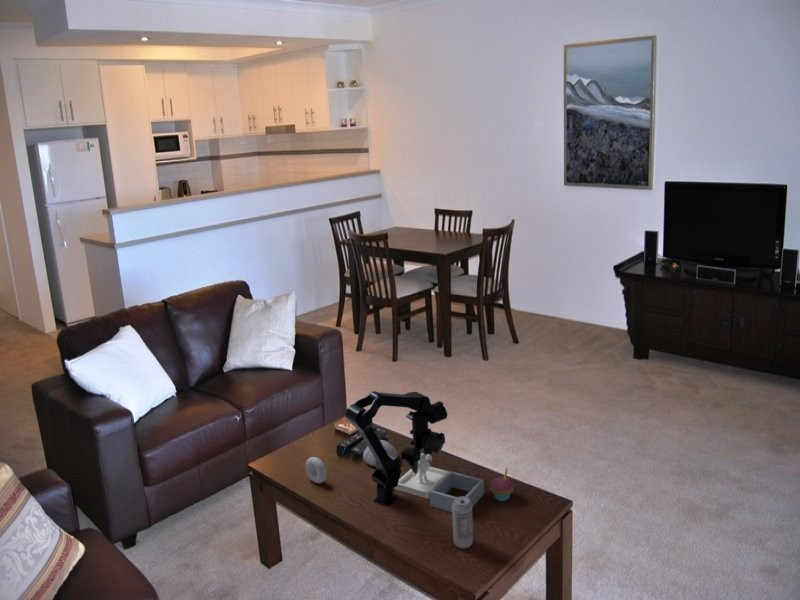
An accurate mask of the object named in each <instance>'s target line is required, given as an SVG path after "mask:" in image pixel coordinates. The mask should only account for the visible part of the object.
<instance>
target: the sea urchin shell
mask: <svg viewBox="0 0 800 600" xmlns="http://www.w3.org/2000/svg"><path fill="white" fill-rule="evenodd" d="M379 440H380V441H381V443H382V445H383V447H384V449H385V450H386V452H388V453H389V454H391V455H393V456H394V457H396V458H397V459H398V452H397V449H396V448H395V447H394V446H393V444H391V443H390V442H389V441H386V440H384V439H379ZM362 458H363V462H365V463H366V464H368V465H370V466H371V467H373V466H374V467H376V465H375V463H376V459H375V457H374V456H373V454H372V452H371V451H370V449H369V447H368V445H367V446H366V448H365V449H364V451H363V454H362Z"/></svg>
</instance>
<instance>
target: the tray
mask: <svg viewBox="0 0 800 600" xmlns="http://www.w3.org/2000/svg"><path fill="white" fill-rule="evenodd" d="M449 472H450V471H448V470H444V469H441V468H436V467H433V466H430V469H429V468H428V469H427V471H426V476H427V479H428V481H426V482H424V483H423V484H418V483H417V481H418V480H419V478H418V474H419V470H418V472H417V474H416V475H415V477H414V476H413V473H414V472H413V470H412V469H411V468H410V469H409V470H408V471H406V473H405V474H403V475H402V476H400V478H399V482H398V486H396V487H395V491H400V492H404V493H407V494H410V495H414V496H417V497H420V498H423V499H427V500H430V493H429V491H430V490H431V489H432V488H434V487H435V486H436V485H437V484H438V483H439V482H440V481H441V480H442V479H443V478H444V477H445V476H446V475H447V474H448V473H449ZM422 477H423V476H422Z"/></svg>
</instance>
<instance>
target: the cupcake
mask: <svg viewBox="0 0 800 600" xmlns="http://www.w3.org/2000/svg"><path fill="white" fill-rule="evenodd" d="M504 470H505V471H504V476H497V477H494V478H493V479H491V480H490V482H489V485H488V486H489V490H490V492H492V493H493V495H494V498H495V499H496V500H497V501H500V502H505V501H508V500H509V499H510V496H511V493H513V492H514V491H515V490H514V489H515V482H514V481H513V480H512V479H511V478H509V477H507V474H508V468H505V469H504Z"/></svg>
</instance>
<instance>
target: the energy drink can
mask: <svg viewBox="0 0 800 600" xmlns="http://www.w3.org/2000/svg"><path fill="white" fill-rule="evenodd" d="M455 497H456V498H455V499H454V502H453V504H452V512H451V514H452V533H453V534H452V536H453V538H452V539H453V540H452V541H453V544H454V545H455V546H456V547H457V548H458V549H463V550H465V549H469V548H470V547H471V546H472V545H473V543H474V526H473V524H474V523H473V522H474V521H473V507H472V504H471V502H470V499H469V498H467V497H465V496H463V495H460V496H455Z"/></svg>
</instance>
